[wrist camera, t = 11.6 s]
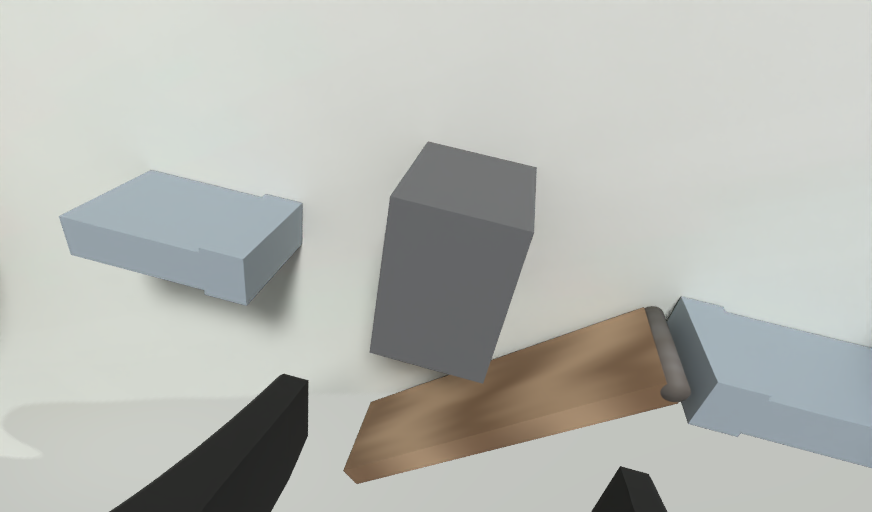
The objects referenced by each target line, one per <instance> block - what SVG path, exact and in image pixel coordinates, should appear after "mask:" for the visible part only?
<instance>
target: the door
mask: <svg viewBox="0 0 872 512" xmlns="http://www.w3.org/2000/svg"><path fill="white" fill-rule="evenodd" d="M690 395H691V389H690V386H689V383H688V381H687V378H686V375H685V372H684V369H683V366H682V364H681V361H680V358H679V355H678V352H677V350H676V347H675V344H674V341H673V338H672V335H671V333H670V330H669V327H668V324H667V321H666V318H665V316H664V313H663V311H662V310H661V309H660V308H658V307H654V306H651V307H646V308H644V307H643V308H640V309H637V310H635V311H632V312H629V313H626V314H623V315H620V316H617V317H614V318H611V319H609V320H606V321H603V322H600V323H597V324H594V325H591V326H588V327H586V328H583V329H580V330H577V331H574V332H571V333H568V334H565V335H563V336H560V337H557V338H554V339H551V340H548V341H545V342H542V343H540V344H537V345H534V346H531V347H528V348H525V349H522V350H519V351H516V352H514V353H511V354H508V355H505V356H502V357H499V358H496V359H493V360H491V362H490V365H489V368H488V371H487V374H486V376H485V379H484V382H483V384H482V383H478V382H475V381H471V380H467V379H464V378H460V377H457V376H453V375H447V376H444V377H442V378H439V379H436V380H433V381H430V382H427V383H424V384H421V385H419V386H416V387H413V388H410V389H407V390H404V391H401V392H398V393H396V394H393V395H390V396H387V397H384V398H381V399H378V400H375V401H373V402H371V403H370V406H369V408H368V411H367V413H366V416H365V418H364V421H363V423H362V426H361V428H360V430H359V433H358V435H357V438H356V440H355V443H354V445H353V448H352V450H351V453H350V455H349V458H348V460H347V463H346V465H345V468H344V470H343V471H344V472H345V473H346V474H347V475H348V476H349V477H350V478H351V479H352V480H353V481H354V482H355V483H356V484H359V483H363V482H367V481H370V480H375V479H379V478H383V477H387V476H391V475H395V474H398V473H403V472H407V471H410V470H414V469H418V468H422V467H427V466H430V465H435V464H439V463H443V462H446V461H450V460H454V459H458V458H462V457H466V456H470V455H474V454H478V453H482V452H486V451H490V450H494V449H498V448H502V447H506V446H510V445H514V444H518V443H522V442H526V441H530V440H534V439H538V438H542V437H546V436H550V435H554V434H558V433H562V432H566V431H570V430H574V429H578V428H582V427H586V426H590V425H593V424H597V423H602V422H606V421H610V420H614V419H618V418H622V417H626V416H630V415H634V414H638V413H641V412H646V411H650V410H653V409H657V408H661V407H666V406H669V405H673V404H678V402H681V401H684V400H686V399H687V398H688V397H689V396H690Z"/></svg>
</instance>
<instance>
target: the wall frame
mask: <svg viewBox="0 0 872 512" xmlns="http://www.w3.org/2000/svg"><path fill="white" fill-rule="evenodd" d="M59 218H60V221H61V224H62V228H63V231H64V234H65V237H66V240H67V243H68V247H69V250H70V253H71V255H74V256H78V257H82V258H85V259H89V260H93V261H97V262H100V263H104V264H108V265H112V266H115V267H119V268H123V269H127V270H131V271H134V272H138V273H142V274H146V275H149V276H153V277H157V278H161V279H164V280H168V281H172V282H176V283H179V284H183V285H187V286H191V287H194V288H198V289H202V290H204V294H205V295H208V296H212V297H216V298H220V299H223V300H227V301H231V302H235V303H238V304H242V305H246V306H247V305H248V303H249V302H250V301H251V300H252V299H253V298H254V297H255V296H256V295H257V293H258V292H259V291H260V290H261V289H262V288H263V287H264V286H265V284H266V283H267V282H268V281H269V280H270V279H271V278H272V277H273V276H274V274H275V273H276V272H277V271H278V270H279V269H280V268H281V267H282V266H283V264H284V263H285V262H286V261H287V260H288V259H289V258H290V257H291V255H292V254H293V253H294V252H295V251H296V250H297V249H298V248H299V247H300V245H301V244H302V203H300V202H296V201H292V200H288V199H284V198H280V197H276V196H272V195H268V194H265V195H264V196H263V197H259V196H255V195H250V194H246V193H242V192H238V191H234V190H230V189H226V188H222V187H218V186H214V185H210V184H206V183H202V182H198V181H194V180H190V179H186V178H182V177H178V176H174V175H170V174H166V173H162V172H157V171H153V170H150V171H148V172H146V173H144V174H142V175H140V176H138V177H136V178H134V179H132V180H130V181H128V182H126V183H124V184H122V185H120V186H118V187H116V188H114V189H112V190H110V191H108V192H106V193H104V194H102V195H100V196H98V197H96V198H94V199H92V200H90V201H88V202H86V203H84V204H82V205H80V206H78V207H76V208H74V209H72V210H70V211H68V212H66V213H64V214H62V215H60V216H59ZM667 324H668V327H669V330H670V333H671V335H672V338H673V341H674V344H675V347H676V350H677V352H678V355H679V358H680V361H681V364H682V366H683V369H684V372H685V375H686V378H687V381H688V383H689V386H690V389H691V395H690V396H689V397H688V398H687V399H686V400H684V401H681V403H682V406H683V409H684V412H685V415H686V419H687V422H688V424H691V425H695V426H699V427H702V428H706V429H710V430H714V431H718V432H721V433H725V434H729V435H732V436H736V437H738V436H739V435H740V434H741V433H742V434H746V435H750V436H754V437H757V438H761V439H765V440H769V441H772V442H776V443H780V444H783V445H787V446H791V447H795V448H799V449H803V450H806V451H810V452H813V453H818V454H821V455H825V456H829V457H832V458H836V459H840V460H843V461H848V462H851V463H855V464H858V465H862V466H866V467H870V468H872V348H869V347H865V346H861V345H857V344H853V343H849V342H845V341H841V340H837V339H833V338H829V337H825V336H821V335H817V334H813V333H808V332H804V331H800V330H796V329H792V328H788V327H784V326H780V325H776V324H772V323H768V322H764V321H760V320H756V319H752V318H748V317H744V316H740V315H736V314H732V313H728V312H726V311H725V309H724V307H722V306H718V305H714V304H710V303H706V302H702V301H698V300H694V299H690V298H685V297H681V298H680V300H679V301H678V303H677V305H676V307H675V308H674V310H673V312H672V314H671V315H670V317H669V319H668V320H667Z"/></svg>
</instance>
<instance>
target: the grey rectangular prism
mask: <svg viewBox="0 0 872 512" xmlns="http://www.w3.org/2000/svg"><path fill="white" fill-rule="evenodd" d="M535 193H536V167H532V166H528V165H524V164H520V163H515V162H511V161H507V160H503V159H499V158H495V157H490V156H486V155H482V154H478V153H474V152H470V151H465V150H461V149H457V148H453V147H449V146H445V145H440V144H436V143H432V142H427V144H426V145H425V147H424V148H423V150H422V151H421V152H420V154H419V155H418V157H417V158H416V160H415V161H414V163H413V164H412V165H411V167H410V168H409V170H408V171H407V173H406V174H405V176H404V177H403V179H402V180H401V181H400V183H399V184H398V186H397V187H396V189H395V190H394V192H393V193H392V194H391V196H390V202H389V210H388V217H387V225H386V232H385V240H384V247H383V255H382V262H381V270H380V278H379V285H378V293H377V300H376V308H375V315H374V323H373V330H372V338H371V345H370V353H373V354H377V355H381V356H384V357H388V358H392V359H395V360H399V361H402V362H406V363H410V364H413V365H417V366H420V367H424V368H428V369H431V370H435V371H438V372H442V373H446V374H449V375H453V376H457V377H460V378H464V379H467V380H471V381H475V382H478V383H482V384H483V382H484V379H485V376H486V374H487V371H488V368H489V365H490V362H491V359H492V356H493V353H494V350H495V347H496V344H497V341H498V338H499V335H500V332H501V329H502V326H503V323H504V320H505V317H506V314H507V311H508V308H509V305H510V302H511V299H512V296H513V293H514V290H515V287H516V284H517V281H518V278H519V275H520V272H521V269H522V266H523V263H524V260H525V257H526V255H527V252H528V249H529V246H530V243H531V240H532V237H533V234H534V219H535Z"/></svg>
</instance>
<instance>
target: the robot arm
mask: <svg viewBox="0 0 872 512" xmlns="http://www.w3.org/2000/svg"><path fill="white" fill-rule="evenodd" d="M307 436H308V380H305V379H301V378H297V377H294V376H290V375H287V374H282V375H280V376H279V377H278V378H276V379H275V380H274V381H273V382H272V383H271V384H270V385H269V386H268V387H267V388H266V389H265V390H264V391H263V392H261V393H260V394H259V395H258V396H257V397H256V398H255V399H254V400H253V401H251V403H249V404H248V405H247V406H246V407H245V408H244V409H242V410H241V411H240V412H239V413H238V414H237V415H236V416H234V417H233V418H232V419H231V420H230V421H229V422H227V423H226V424H225V425H224V426H223V427H222V428H220V429H219V430H218V431H217V432H215V433H214V434H213V435H212V436H211V437H210V438H208V439H207V440H206V441H205V442H203V443H202V444H201V445H200V446H198V447H197V448H196V449H195V450H193V451H192V452H191V453H190V454H189V455H187V456H186V457H184V458H183V459H182V460H180V461H179V462H178V463H176V464H175V465H174V466H173V467H171V468H170V469H169V470H167V471H166V472H165V473H163V474H162V475H161V476H160V477H158V478H157V479H155V480H154V481H153V482H151V483H150V484H149V485H147V486H146V487H144V488H143V489H142V490H140V491H139V492H137V493H136V494H135V495H133V496H132V497H130V498H129V499H127V500H126V501H125V502H123V503H122V504H120V505H119V506H117V507H116V508H114V509H113V510H111V511H110V512H271V511H272V509H273V507H274V505H275V503H276V502H277V500H278V498H279V496H280V494H281V493H282V491H283V489H284V487H285V485H286V484H287V482H288V480H289V478H290V476H291V474H292V471H293V469H294V467H295V465H296V462H297V460H298V458H299V455H300V453H301V451H302V448H303V446H304V443H305V441H306V439H307ZM592 512H667V510H666V508H665V506H664V504H663V502H662V500H661V498H660V496H659V494H658V492H657V490H656V487H655V485H654V483H653V481H652V480H651V478H650V476H649V474H647V473H643V472H639V471H635V470H632V469H628V468H625V467H621V466H620V467H619V469H618V470H617V472H616V474H615V475H614V477H613V478H612V480H611V482H610V483H609V485H608V486H607V488H606V489H605V491H604V493H603V494H602V496H601V497H600V499H599V501H598V502H597V504H596V505H595V507H594V508H593V510H592Z"/></svg>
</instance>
